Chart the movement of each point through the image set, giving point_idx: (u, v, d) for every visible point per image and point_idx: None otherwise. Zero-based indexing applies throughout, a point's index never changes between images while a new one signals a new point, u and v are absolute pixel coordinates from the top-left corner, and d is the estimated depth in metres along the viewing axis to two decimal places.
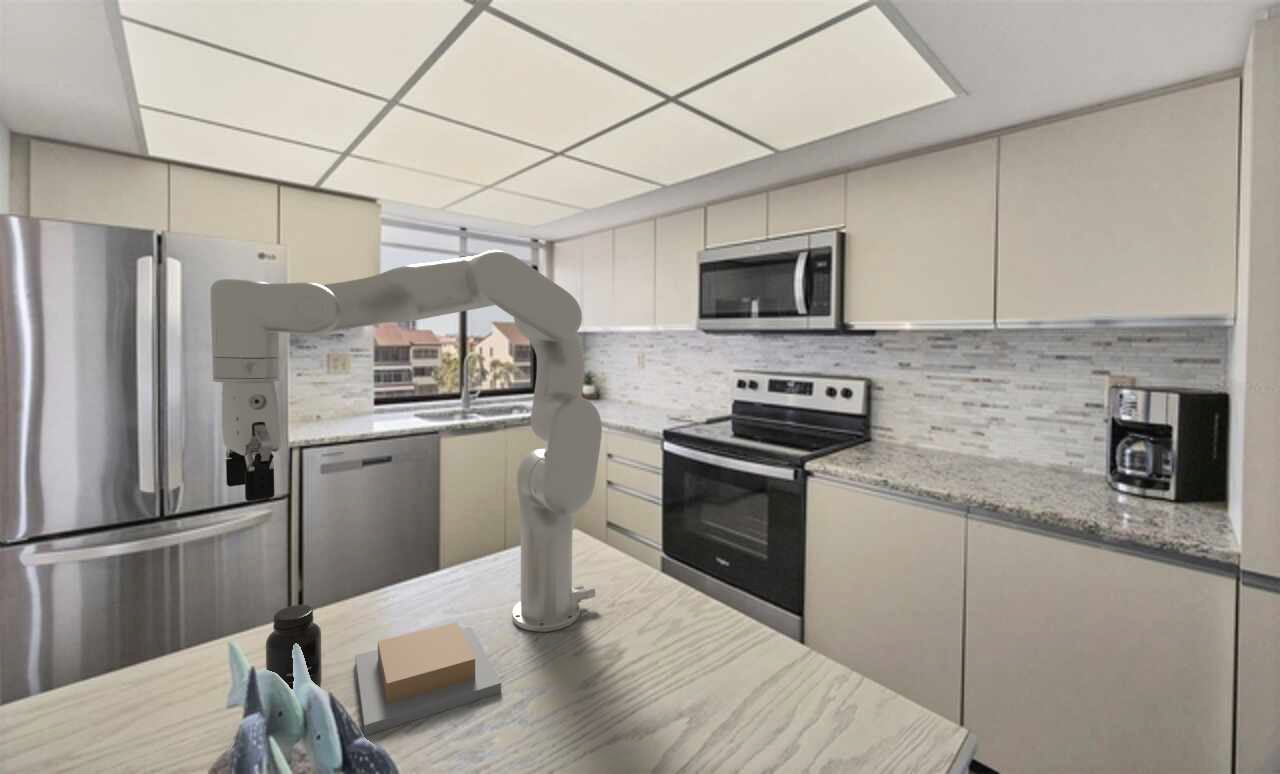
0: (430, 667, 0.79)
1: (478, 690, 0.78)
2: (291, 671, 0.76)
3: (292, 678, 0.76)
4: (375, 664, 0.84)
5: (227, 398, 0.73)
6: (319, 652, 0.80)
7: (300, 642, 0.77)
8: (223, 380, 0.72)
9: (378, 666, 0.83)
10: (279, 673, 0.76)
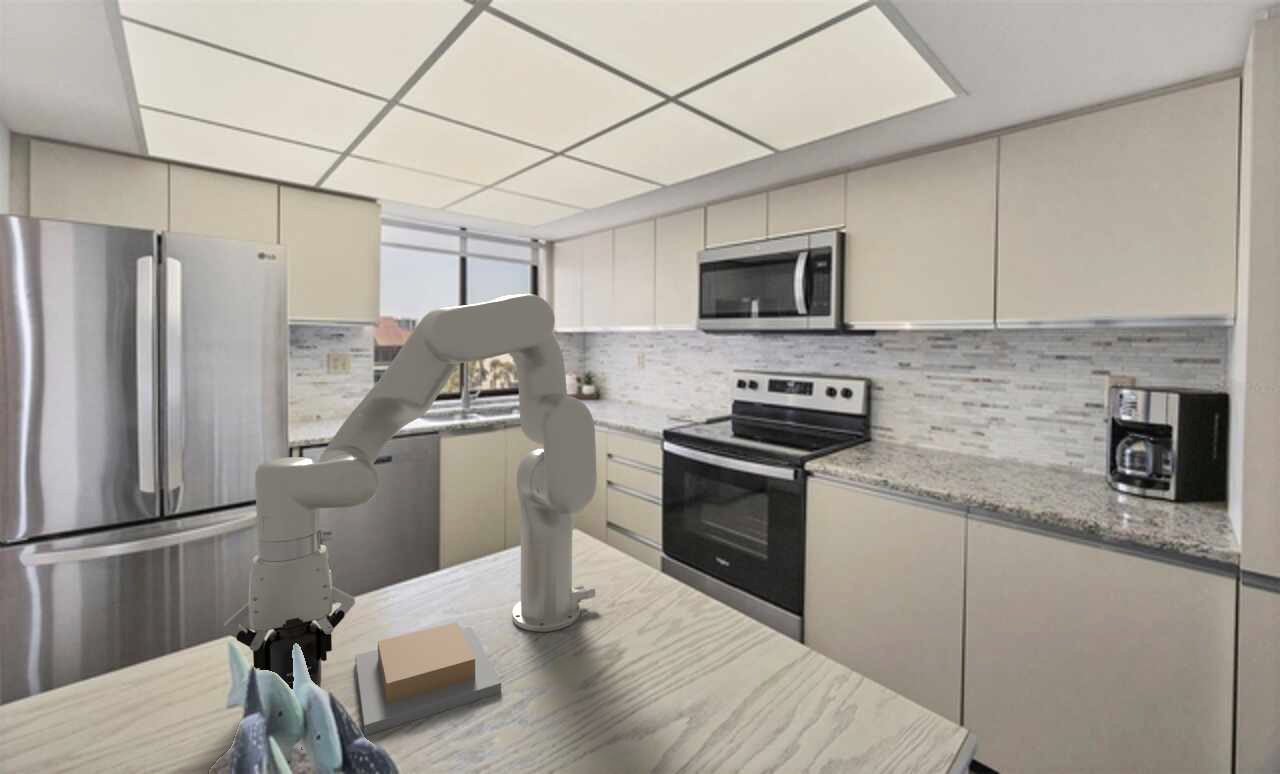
0: (430, 667, 0.79)
1: (478, 690, 0.78)
2: (291, 671, 0.76)
3: (292, 678, 0.76)
4: (375, 664, 0.84)
5: (299, 575, 0.76)
6: (319, 651, 0.80)
7: (299, 642, 0.77)
8: (307, 557, 0.76)
9: (378, 666, 0.83)
10: (279, 673, 0.76)
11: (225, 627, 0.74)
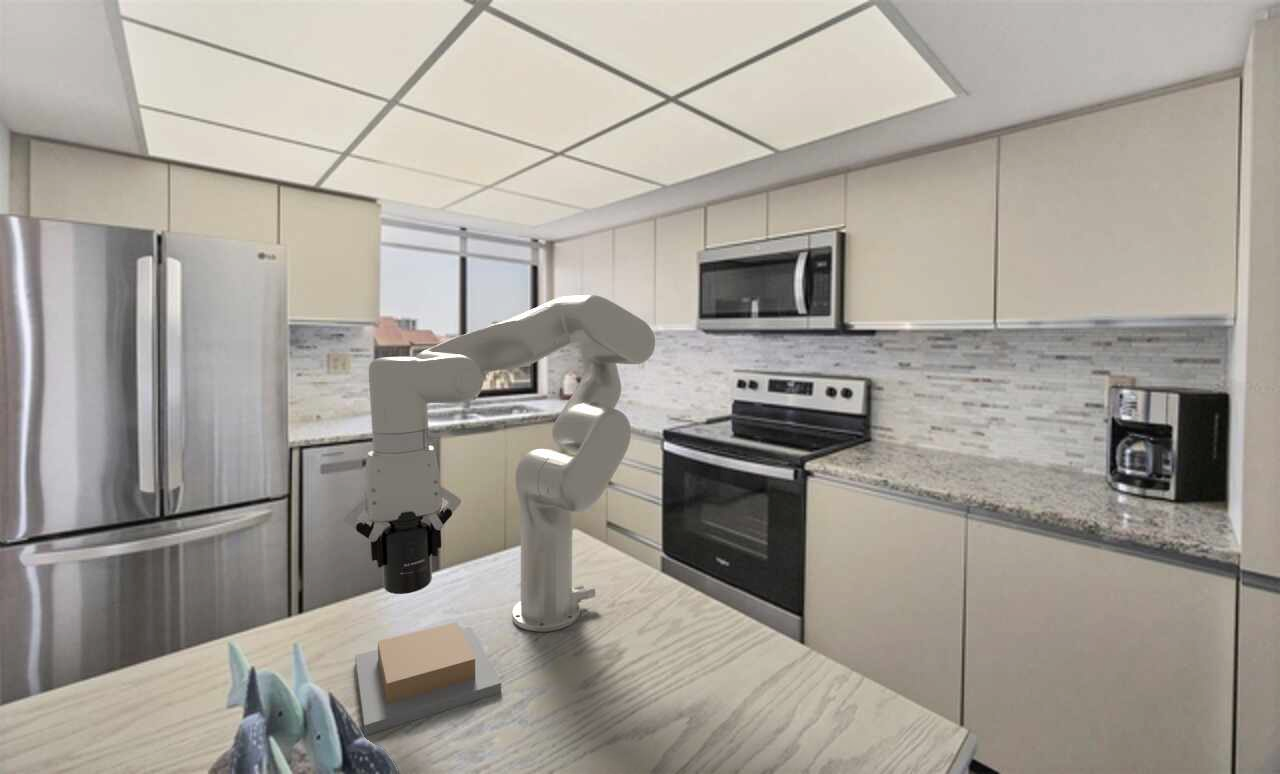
0: (430, 667, 0.79)
1: (478, 690, 0.78)
2: (407, 562, 0.78)
3: (408, 568, 0.79)
4: (375, 664, 0.84)
5: (412, 469, 0.78)
6: (430, 547, 0.82)
7: (414, 534, 0.79)
8: (420, 451, 0.78)
9: (378, 666, 0.83)
10: (396, 563, 0.78)
11: (346, 518, 0.76)
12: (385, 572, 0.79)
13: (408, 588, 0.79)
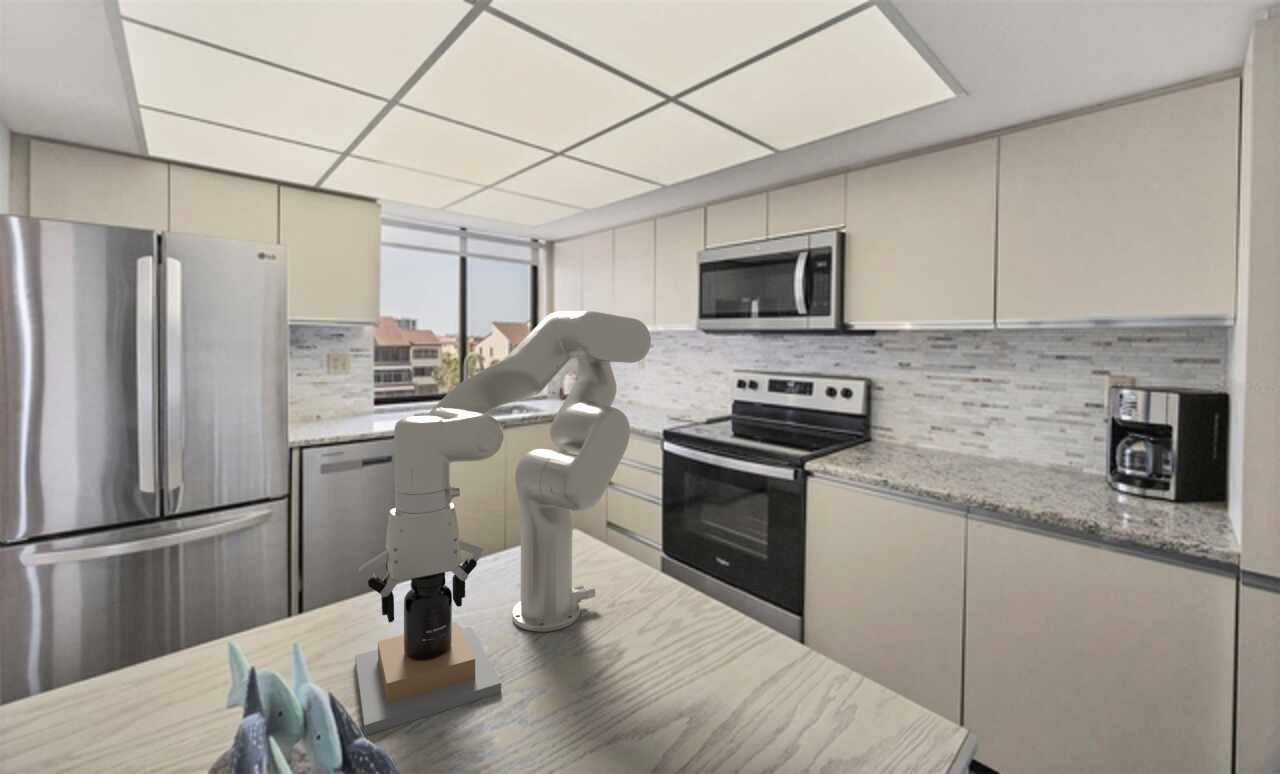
0: (430, 667, 0.79)
1: (478, 690, 0.78)
2: (430, 628, 0.80)
3: (431, 635, 0.80)
4: (375, 664, 0.84)
5: (433, 527, 0.80)
6: (451, 611, 0.83)
7: (437, 601, 0.80)
8: (442, 511, 0.79)
9: (378, 666, 0.83)
10: (419, 630, 0.79)
11: (362, 570, 0.77)
12: (408, 638, 0.80)
13: (429, 654, 0.80)
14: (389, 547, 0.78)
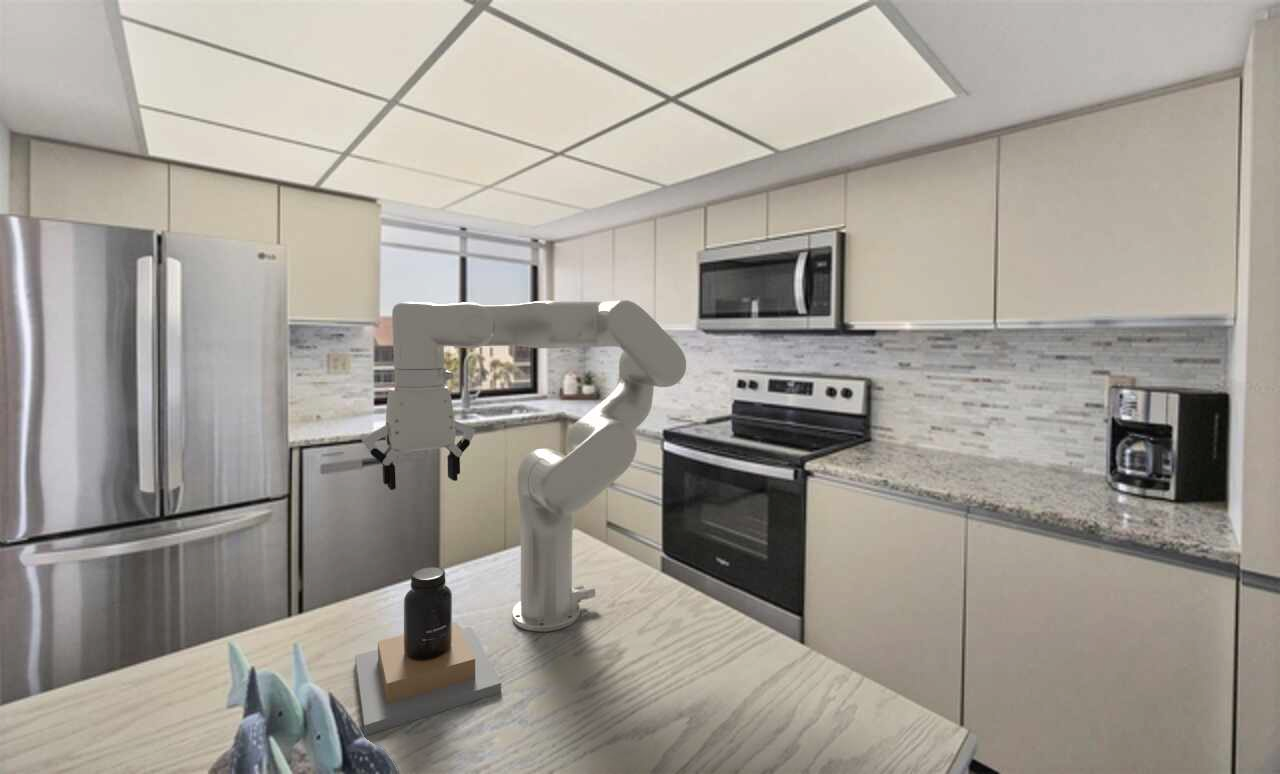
0: (430, 667, 0.79)
1: (478, 690, 0.78)
2: (430, 628, 0.80)
3: (431, 635, 0.80)
4: (375, 664, 0.84)
5: (431, 403, 0.87)
6: (451, 611, 0.83)
7: (437, 601, 0.80)
8: (438, 387, 0.87)
9: (378, 666, 0.83)
10: (419, 630, 0.79)
11: (365, 439, 0.83)
12: (408, 638, 0.80)
13: (429, 654, 0.80)
14: (390, 419, 0.85)
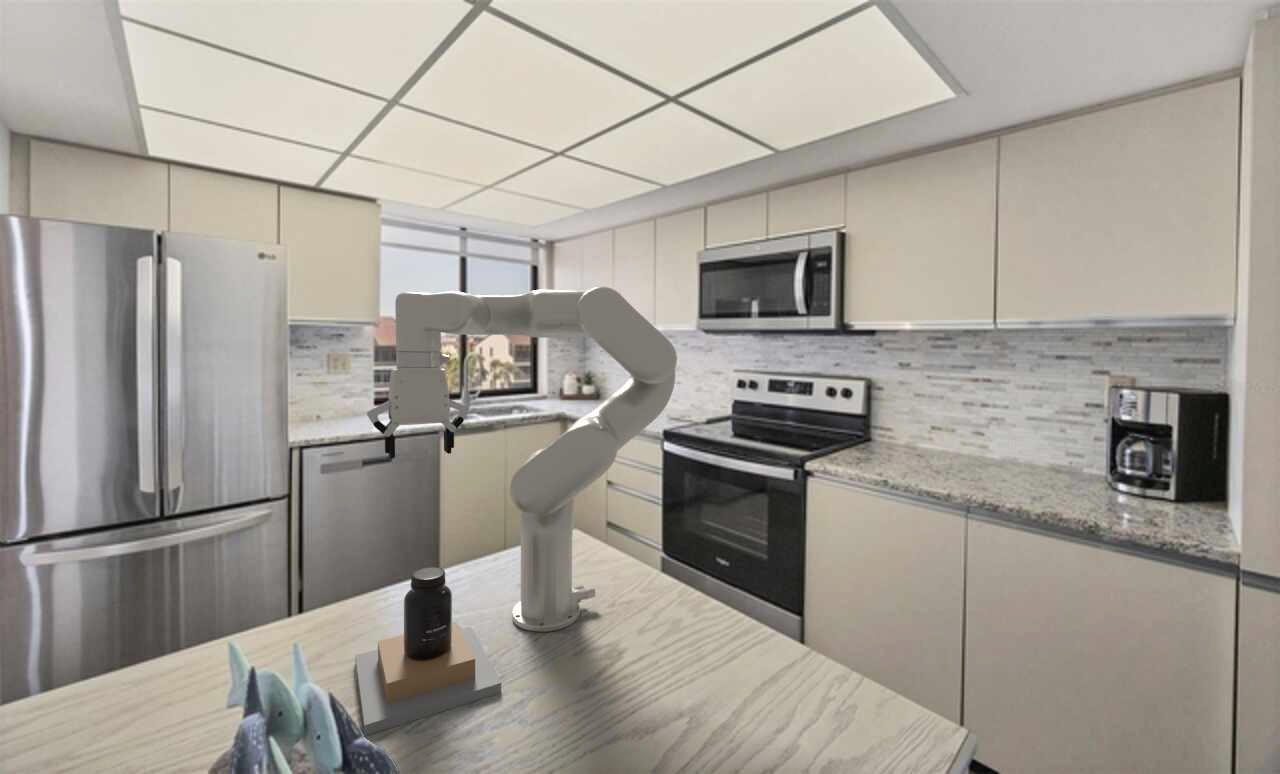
0: (430, 667, 0.79)
1: (478, 690, 0.78)
2: (430, 628, 0.80)
3: (431, 635, 0.80)
4: (375, 664, 0.84)
5: (427, 382, 0.97)
6: (451, 611, 0.83)
7: (437, 601, 0.80)
8: (434, 368, 0.97)
9: (378, 666, 0.83)
10: (419, 630, 0.79)
11: (369, 413, 0.95)
12: (408, 638, 0.80)
13: (429, 654, 0.80)
14: (391, 396, 0.95)
